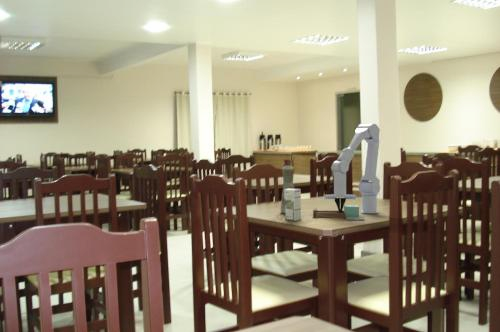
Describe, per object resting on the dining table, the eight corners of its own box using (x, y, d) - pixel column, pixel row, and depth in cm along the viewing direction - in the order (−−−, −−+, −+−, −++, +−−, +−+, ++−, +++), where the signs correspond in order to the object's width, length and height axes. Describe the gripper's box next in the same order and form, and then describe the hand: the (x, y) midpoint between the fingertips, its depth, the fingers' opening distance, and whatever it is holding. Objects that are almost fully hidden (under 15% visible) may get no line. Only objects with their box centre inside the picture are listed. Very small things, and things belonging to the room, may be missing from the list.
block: (344, 215, 260) (344, 205, 260) (358, 215, 259) (358, 205, 258) (344, 216, 256) (344, 206, 256) (359, 217, 255) (359, 206, 254)
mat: (346, 217, 253) (346, 216, 253) (363, 217, 252) (363, 216, 252) (346, 220, 245) (346, 219, 245) (364, 220, 244) (364, 219, 244)
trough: (314, 214, 265) (314, 207, 264) (345, 215, 262) (345, 207, 262) (313, 217, 256) (313, 210, 256) (345, 217, 254) (345, 210, 254)
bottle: (284, 211, 279) (283, 157, 278) (300, 212, 275) (299, 157, 274) (277, 213, 272) (276, 158, 270) (294, 214, 268) (293, 158, 266)
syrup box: (301, 219, 251) (301, 188, 251) (294, 221, 247) (293, 189, 246) (291, 218, 255) (291, 187, 254) (284, 219, 251) (283, 188, 250)
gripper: (324, 186, 255) (324, 215, 256) (355, 186, 252) (355, 215, 253) (325, 185, 262) (325, 213, 262) (355, 185, 259) (355, 213, 260)
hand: (340, 214), depth 258 cm, fingers closed
